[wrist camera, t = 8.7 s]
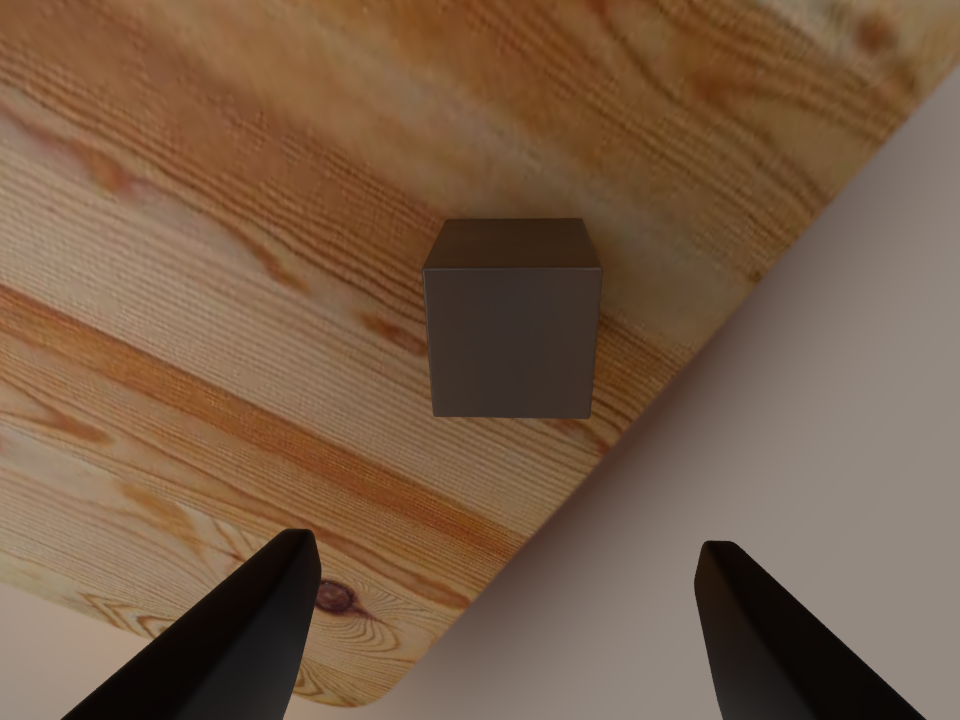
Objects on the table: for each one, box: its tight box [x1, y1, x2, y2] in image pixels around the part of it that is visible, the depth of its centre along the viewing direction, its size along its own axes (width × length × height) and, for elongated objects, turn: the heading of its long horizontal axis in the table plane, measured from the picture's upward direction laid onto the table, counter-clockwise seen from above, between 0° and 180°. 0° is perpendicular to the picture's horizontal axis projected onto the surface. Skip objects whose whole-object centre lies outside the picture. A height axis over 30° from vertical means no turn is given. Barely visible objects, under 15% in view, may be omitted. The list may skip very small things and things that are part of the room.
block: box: [422, 219, 603, 419], centre depth 17 cm, size 4×4×5 cm
